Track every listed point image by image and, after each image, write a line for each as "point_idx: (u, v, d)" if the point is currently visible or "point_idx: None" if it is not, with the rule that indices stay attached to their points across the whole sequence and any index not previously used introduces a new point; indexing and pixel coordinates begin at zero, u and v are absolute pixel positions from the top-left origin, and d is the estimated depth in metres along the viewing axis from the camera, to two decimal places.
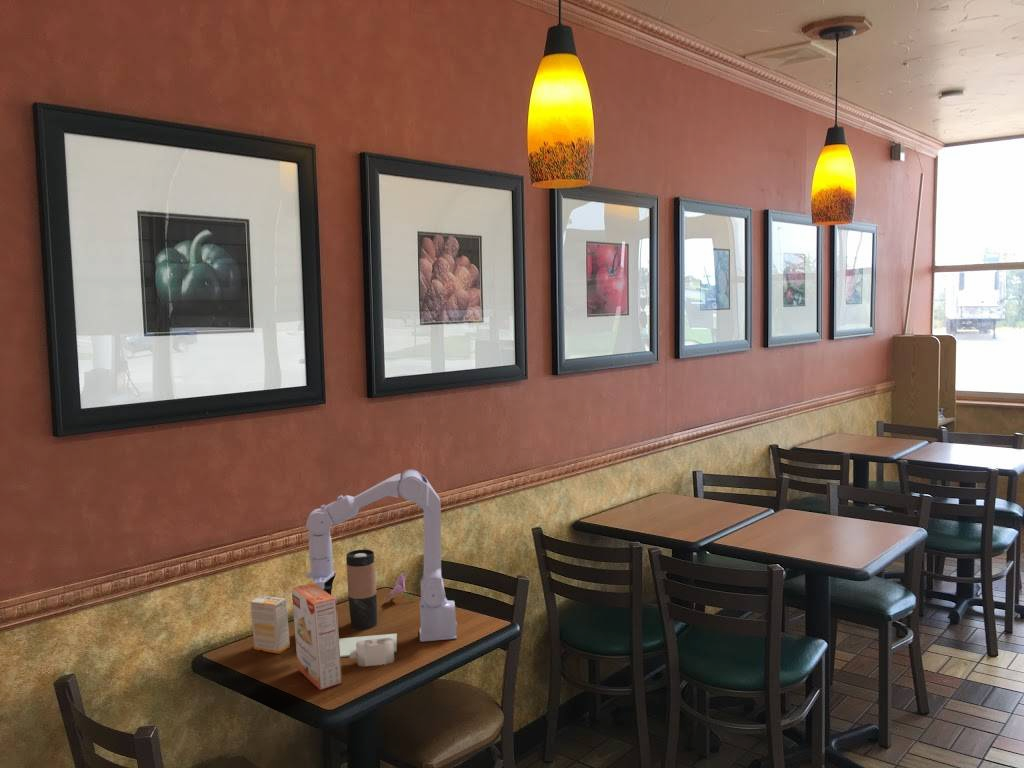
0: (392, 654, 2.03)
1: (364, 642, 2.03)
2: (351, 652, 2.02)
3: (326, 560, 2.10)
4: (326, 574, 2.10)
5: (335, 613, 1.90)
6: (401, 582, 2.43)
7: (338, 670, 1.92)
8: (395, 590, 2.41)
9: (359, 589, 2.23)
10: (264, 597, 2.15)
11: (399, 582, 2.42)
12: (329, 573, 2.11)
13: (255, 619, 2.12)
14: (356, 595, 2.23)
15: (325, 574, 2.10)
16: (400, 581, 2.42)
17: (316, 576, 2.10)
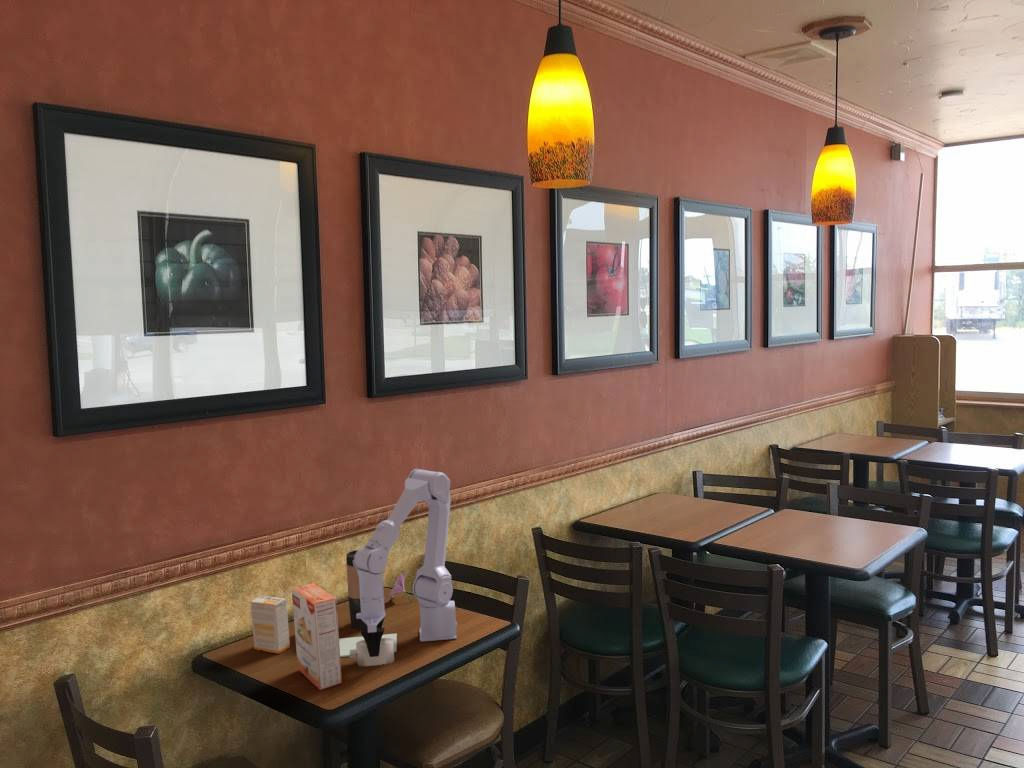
0: (392, 654, 2.03)
1: (364, 642, 2.03)
2: (351, 652, 2.02)
3: (378, 600, 2.00)
4: (377, 615, 2.00)
5: (335, 613, 1.90)
6: (400, 582, 2.43)
7: (338, 670, 1.92)
8: (394, 590, 2.41)
9: (359, 589, 2.23)
10: (264, 597, 2.15)
11: (398, 582, 2.42)
12: (380, 614, 2.01)
13: (255, 619, 2.12)
14: (356, 595, 2.23)
15: (376, 615, 2.00)
16: (399, 581, 2.42)
17: (367, 617, 2.00)
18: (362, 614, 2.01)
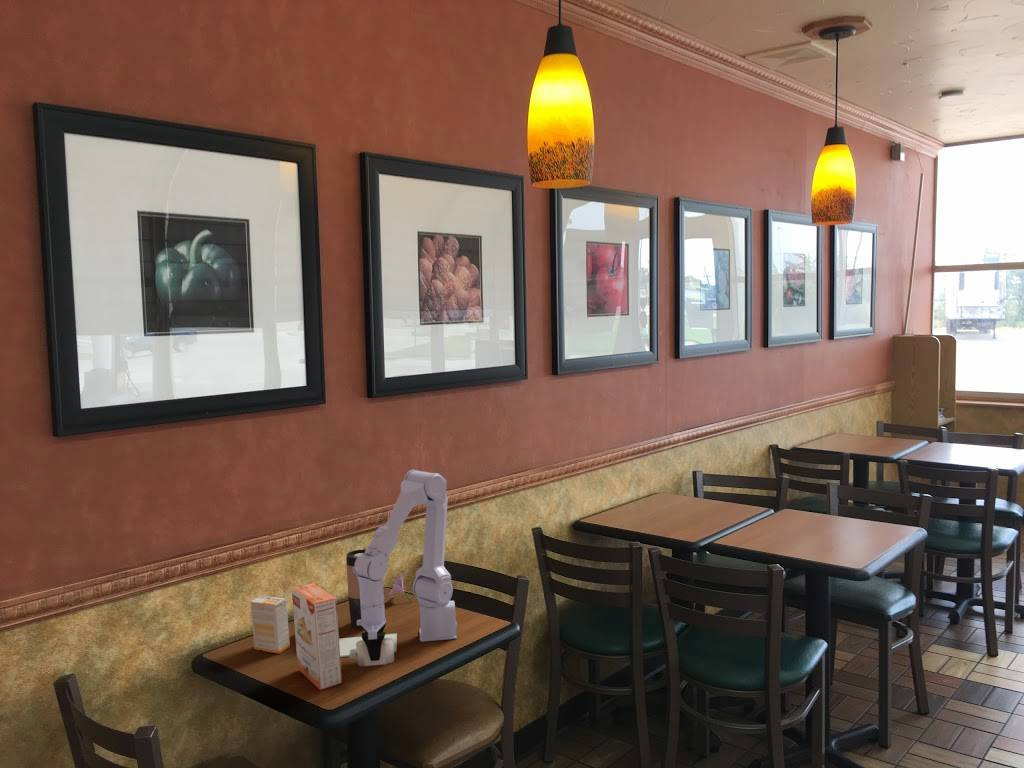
0: (392, 654, 2.03)
1: (364, 642, 2.03)
2: (351, 652, 2.02)
3: (378, 607, 2.00)
4: (378, 622, 2.00)
5: (335, 613, 1.90)
6: (400, 582, 2.43)
7: (338, 670, 1.92)
8: (394, 590, 2.41)
9: (359, 589, 2.23)
10: (264, 597, 2.15)
11: (398, 582, 2.42)
12: (381, 621, 2.01)
13: (255, 619, 2.12)
14: (356, 595, 2.23)
15: (377, 622, 2.00)
16: (399, 581, 2.42)
17: (367, 624, 2.00)
18: (362, 621, 2.01)
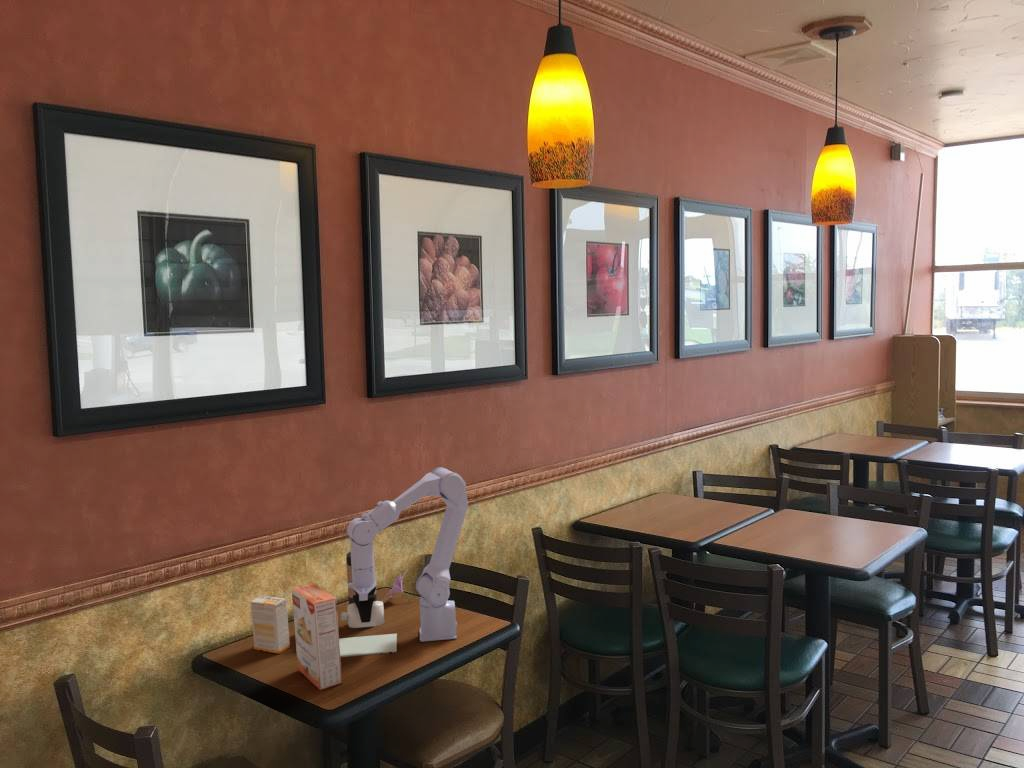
0: (382, 616, 2.09)
1: (355, 605, 2.09)
2: (342, 614, 2.08)
3: (369, 570, 2.06)
4: (369, 584, 2.06)
5: (335, 613, 1.90)
6: (399, 582, 2.43)
7: (338, 670, 1.92)
8: (393, 590, 2.41)
9: None
10: (264, 597, 2.15)
11: (397, 582, 2.42)
12: (371, 583, 2.07)
13: (255, 619, 2.12)
14: None
15: (368, 585, 2.06)
16: (398, 581, 2.42)
17: (358, 587, 2.06)
18: (354, 584, 2.07)
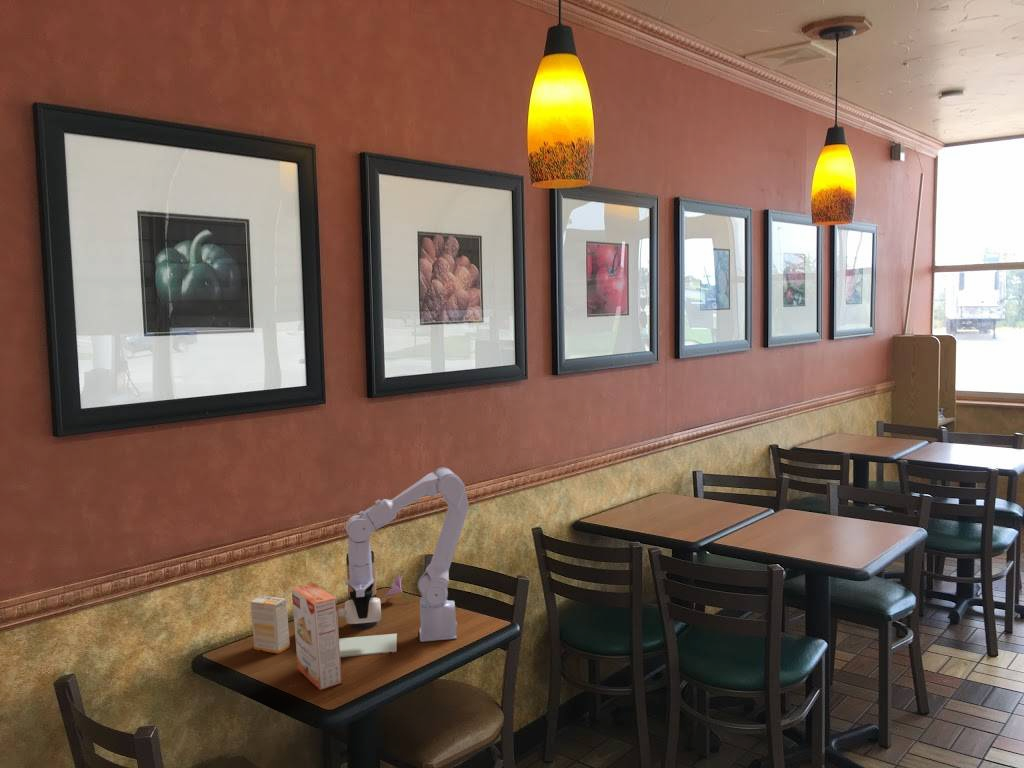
0: (379, 612, 2.12)
1: (352, 601, 2.12)
2: (340, 610, 2.11)
3: (366, 567, 2.09)
4: (366, 581, 2.09)
5: (335, 613, 1.90)
6: (398, 583, 2.42)
7: (338, 670, 1.92)
8: (392, 591, 2.41)
9: None
10: (264, 597, 2.15)
11: (396, 583, 2.42)
12: (369, 580, 2.10)
13: (255, 619, 2.12)
14: None
15: (365, 581, 2.09)
16: (397, 582, 2.42)
17: (356, 583, 2.09)
18: (351, 580, 2.10)
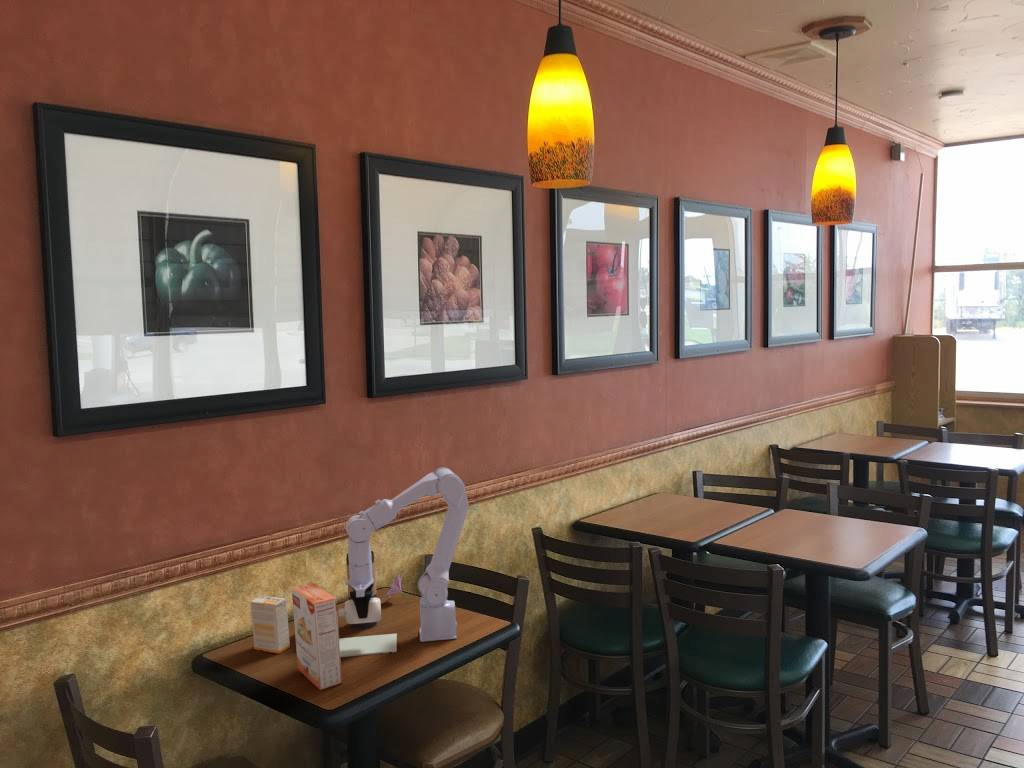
0: (379, 612, 2.12)
1: (352, 601, 2.12)
2: (340, 610, 2.11)
3: (366, 567, 2.09)
4: (366, 581, 2.09)
5: (335, 613, 1.90)
6: (397, 583, 2.42)
7: (338, 670, 1.92)
8: (391, 591, 2.41)
9: None
10: (264, 597, 2.15)
11: (395, 583, 2.41)
12: (369, 580, 2.10)
13: (255, 619, 2.12)
14: None
15: (365, 581, 2.09)
16: (396, 582, 2.42)
17: (356, 583, 2.09)
18: (351, 580, 2.10)
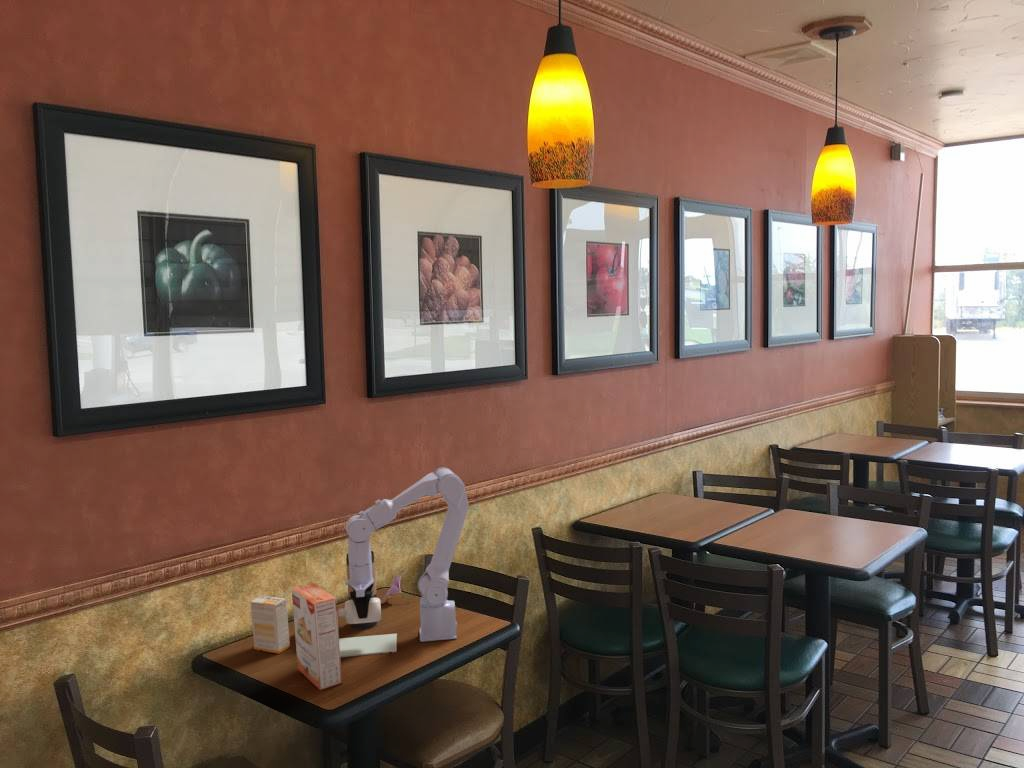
0: (379, 612, 2.12)
1: (352, 601, 2.12)
2: (340, 610, 2.11)
3: (366, 567, 2.09)
4: (366, 581, 2.09)
5: (335, 613, 1.90)
6: (397, 583, 2.42)
7: (338, 670, 1.92)
8: (391, 591, 2.41)
9: None
10: (264, 597, 2.15)
11: (395, 583, 2.41)
12: (369, 580, 2.10)
13: (255, 619, 2.12)
14: None
15: (365, 581, 2.09)
16: (396, 582, 2.42)
17: (356, 583, 2.09)
18: (351, 580, 2.10)
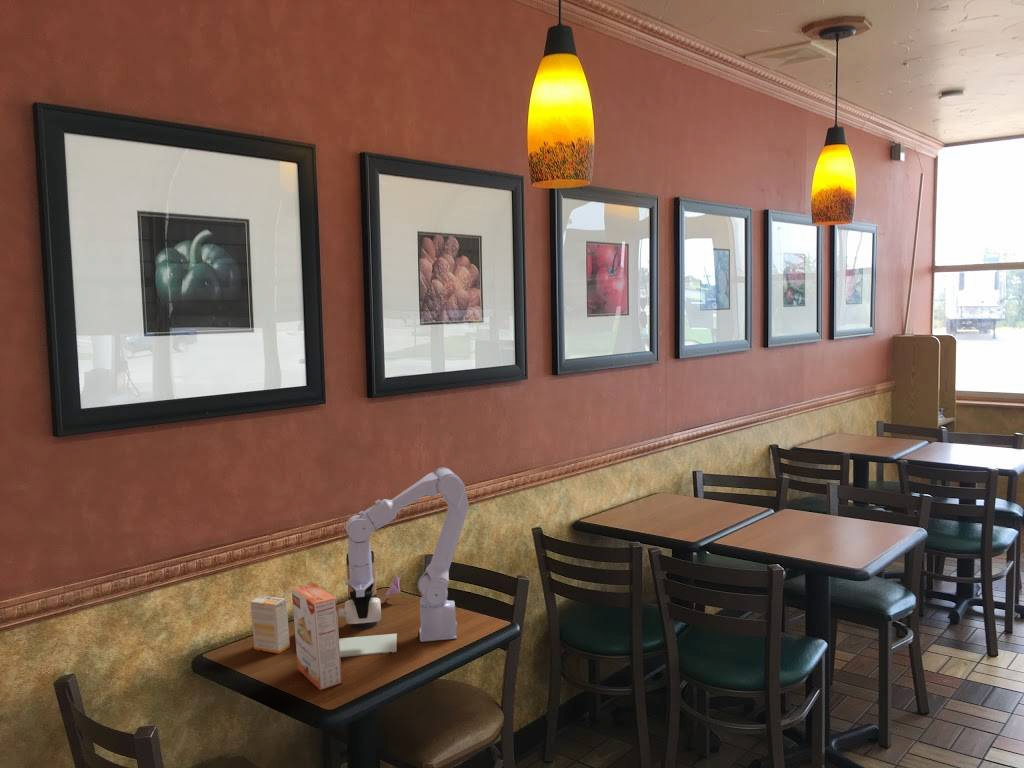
0: (379, 612, 2.12)
1: (352, 601, 2.12)
2: (340, 610, 2.11)
3: (366, 567, 2.09)
4: (366, 581, 2.09)
5: (335, 613, 1.90)
6: (396, 583, 2.42)
7: (338, 670, 1.92)
8: (390, 591, 2.41)
9: None
10: (264, 597, 2.15)
11: (394, 583, 2.41)
12: (369, 580, 2.10)
13: (255, 619, 2.12)
14: None
15: (365, 581, 2.09)
16: (395, 582, 2.42)
17: (356, 583, 2.09)
18: (351, 580, 2.10)
